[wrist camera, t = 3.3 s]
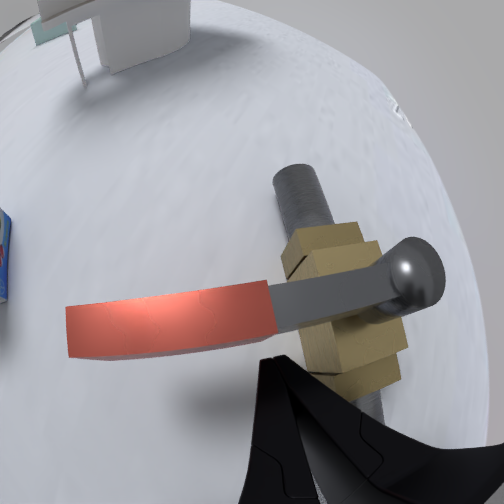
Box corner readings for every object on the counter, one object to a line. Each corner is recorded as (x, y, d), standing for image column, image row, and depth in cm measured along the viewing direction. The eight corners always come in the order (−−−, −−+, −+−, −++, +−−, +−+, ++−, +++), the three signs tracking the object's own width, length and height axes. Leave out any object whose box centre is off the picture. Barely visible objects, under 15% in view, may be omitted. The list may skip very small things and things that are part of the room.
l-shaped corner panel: (75, 30, 35) (70, 6, 28) (36, 46, 33) (30, 24, 26) (91, 16, 40) (88, -5, 33) (55, 29, 38) (50, 9, 31)
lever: (402, 316, 11) (452, 296, 8) (113, 374, 9) (69, 376, 6) (387, 265, 12) (431, 233, 9) (105, 311, 10) (63, 287, 7)
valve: (377, 442, 14) (431, 460, 8) (326, 464, 13) (369, 497, 8) (312, 188, 21) (339, 135, 15) (263, 192, 20) (279, 135, 15)
